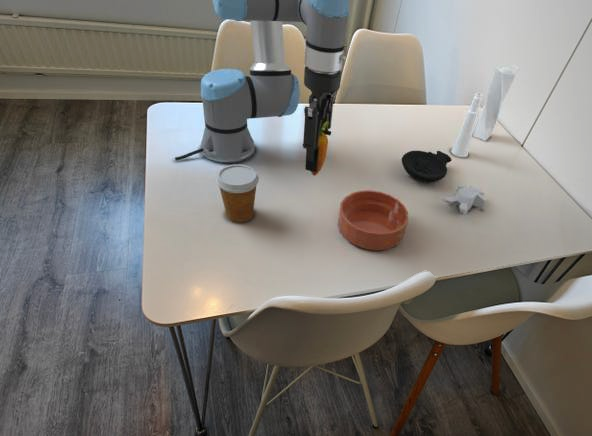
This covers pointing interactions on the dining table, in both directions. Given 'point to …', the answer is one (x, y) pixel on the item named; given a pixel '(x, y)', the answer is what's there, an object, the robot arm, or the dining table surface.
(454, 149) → the cosmetic bottle
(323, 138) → the carrot
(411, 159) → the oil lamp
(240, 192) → the disposable coffee cup
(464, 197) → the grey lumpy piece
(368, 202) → the bowl
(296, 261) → the dining table surface
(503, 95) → the skyscraper
